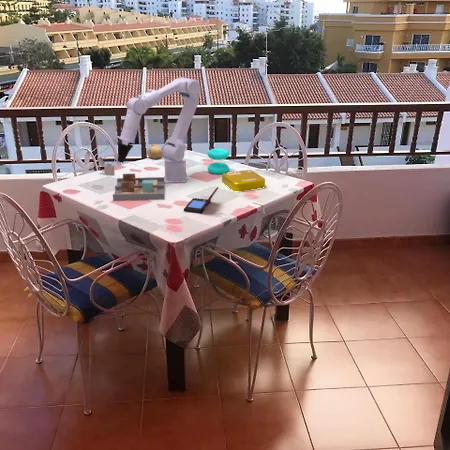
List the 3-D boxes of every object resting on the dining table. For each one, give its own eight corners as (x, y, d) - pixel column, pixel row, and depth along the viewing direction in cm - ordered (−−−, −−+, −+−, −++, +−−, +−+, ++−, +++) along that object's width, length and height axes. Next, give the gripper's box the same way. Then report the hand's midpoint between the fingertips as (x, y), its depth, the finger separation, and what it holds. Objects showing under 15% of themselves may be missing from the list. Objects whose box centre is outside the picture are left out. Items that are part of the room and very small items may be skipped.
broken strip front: (138, 182, 205) (137, 171, 203) (137, 188, 198) (136, 177, 196) (124, 182, 205) (123, 171, 203) (122, 188, 198) (122, 177, 196)
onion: (165, 156, 245) (164, 142, 242) (160, 160, 238) (160, 146, 235) (150, 155, 246) (149, 141, 243) (145, 159, 239) (144, 145, 236)
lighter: (114, 174, 217) (113, 157, 214) (113, 175, 216) (111, 158, 212) (100, 173, 219) (98, 156, 215) (98, 174, 217) (97, 157, 214)
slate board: (164, 182, 208) (164, 177, 207) (164, 199, 190) (164, 193, 189) (117, 183, 206) (117, 178, 205) (113, 200, 188) (112, 194, 187)
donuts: (233, 150, 221) (220, 155, 213) (232, 170, 225) (220, 176, 217) (215, 146, 226) (203, 151, 218) (215, 166, 230) (203, 172, 223)
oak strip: (157, 189, 198) (156, 178, 196) (156, 195, 191) (156, 184, 189) (122, 190, 196) (121, 179, 194) (121, 196, 189) (120, 185, 187)
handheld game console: (192, 200, 191) (192, 182, 187) (219, 203, 188) (219, 185, 185) (182, 212, 180) (182, 193, 176) (210, 215, 177) (210, 196, 174)
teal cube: (153, 189, 196) (152, 179, 194) (152, 192, 192) (152, 183, 190) (143, 189, 195) (142, 180, 193) (142, 192, 192) (142, 183, 190)
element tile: (234, 193, 199) (235, 182, 197) (220, 182, 211) (220, 172, 209) (266, 189, 204) (267, 178, 202) (250, 178, 217) (251, 168, 215)
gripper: (121, 124, 195) (112, 156, 197) (119, 125, 181) (109, 159, 183) (138, 130, 197) (129, 162, 199) (137, 131, 183) (127, 165, 185)
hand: (120, 161), depth 191 cm, fingers open, 7 cm apart
